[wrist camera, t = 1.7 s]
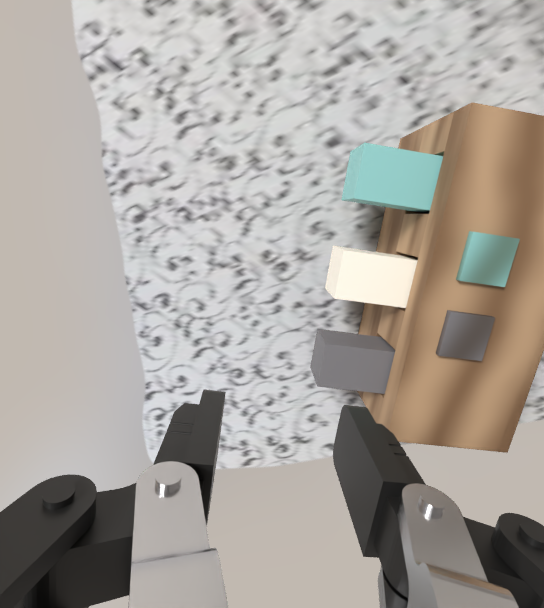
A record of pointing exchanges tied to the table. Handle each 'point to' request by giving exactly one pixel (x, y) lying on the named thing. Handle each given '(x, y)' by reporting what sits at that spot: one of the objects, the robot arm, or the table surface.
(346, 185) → the key teal
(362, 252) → the key ivory
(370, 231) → the table surface
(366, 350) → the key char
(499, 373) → the block
